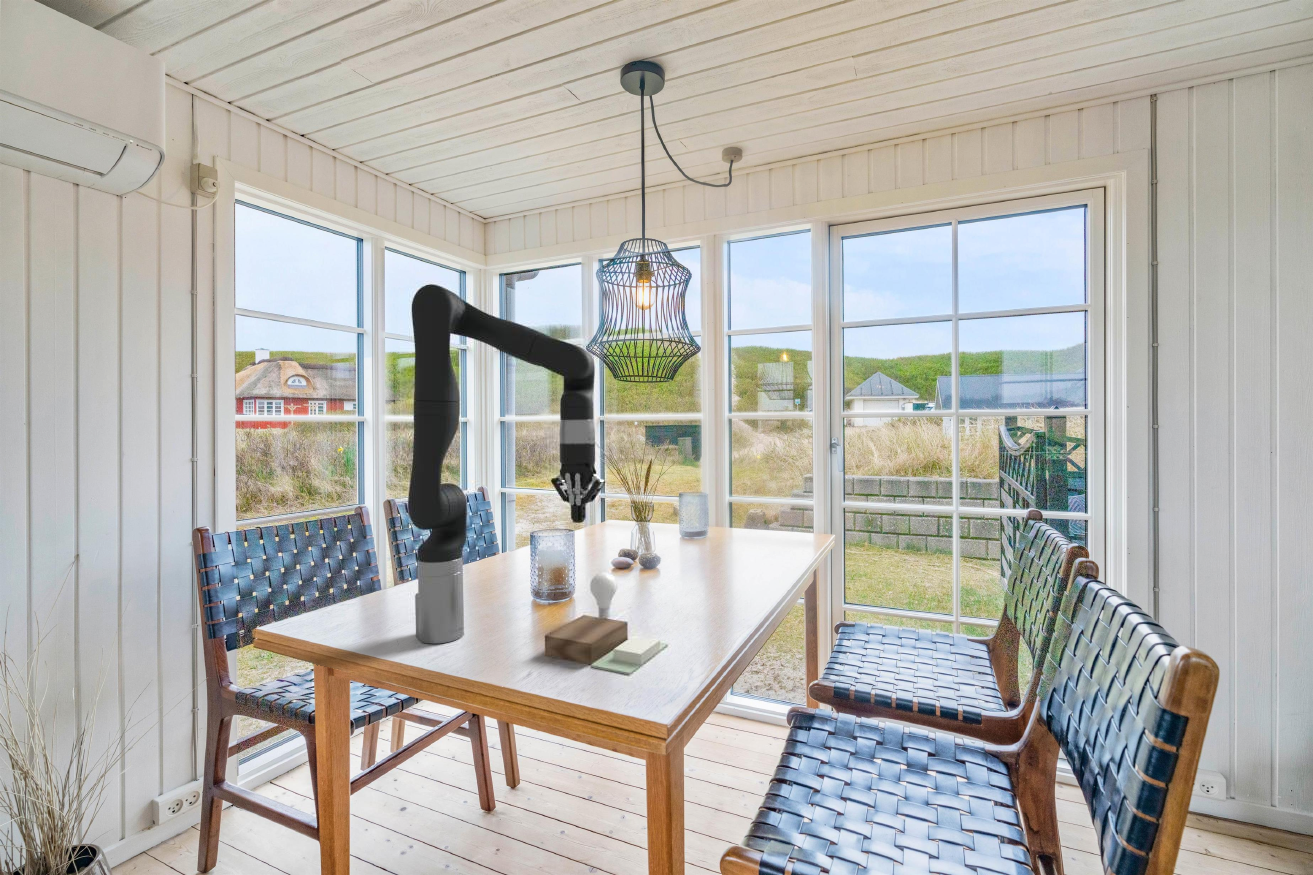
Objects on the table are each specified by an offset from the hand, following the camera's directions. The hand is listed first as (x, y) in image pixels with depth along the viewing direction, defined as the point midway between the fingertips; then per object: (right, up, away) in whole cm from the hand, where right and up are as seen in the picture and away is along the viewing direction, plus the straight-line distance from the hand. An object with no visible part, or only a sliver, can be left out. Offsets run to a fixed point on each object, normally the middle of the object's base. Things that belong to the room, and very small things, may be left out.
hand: (578, 522), depth 129 cm
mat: (+12, -25, -10) cm, 29 cm away
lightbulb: (+4, -25, +13) cm, 28 cm away
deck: (+3, -25, -5) cm, 26 cm away
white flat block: (+13, -23, -10) cm, 28 cm away
